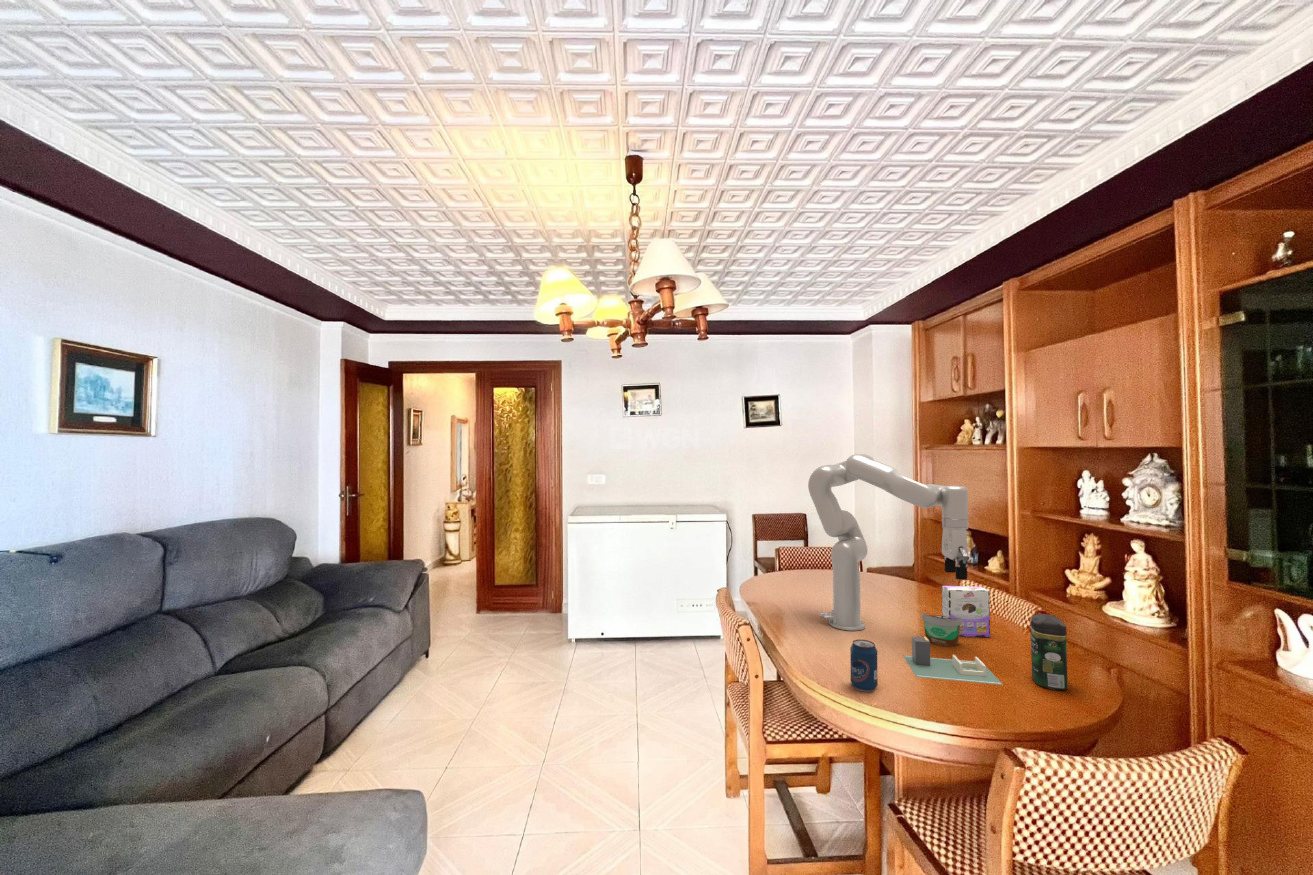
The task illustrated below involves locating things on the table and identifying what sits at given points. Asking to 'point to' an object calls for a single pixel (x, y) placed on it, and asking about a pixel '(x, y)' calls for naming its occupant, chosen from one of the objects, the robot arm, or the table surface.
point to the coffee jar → (1049, 651)
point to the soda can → (864, 665)
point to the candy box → (968, 609)
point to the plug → (921, 651)
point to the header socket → (977, 665)
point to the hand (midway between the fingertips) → (955, 575)
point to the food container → (942, 629)
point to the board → (949, 671)
